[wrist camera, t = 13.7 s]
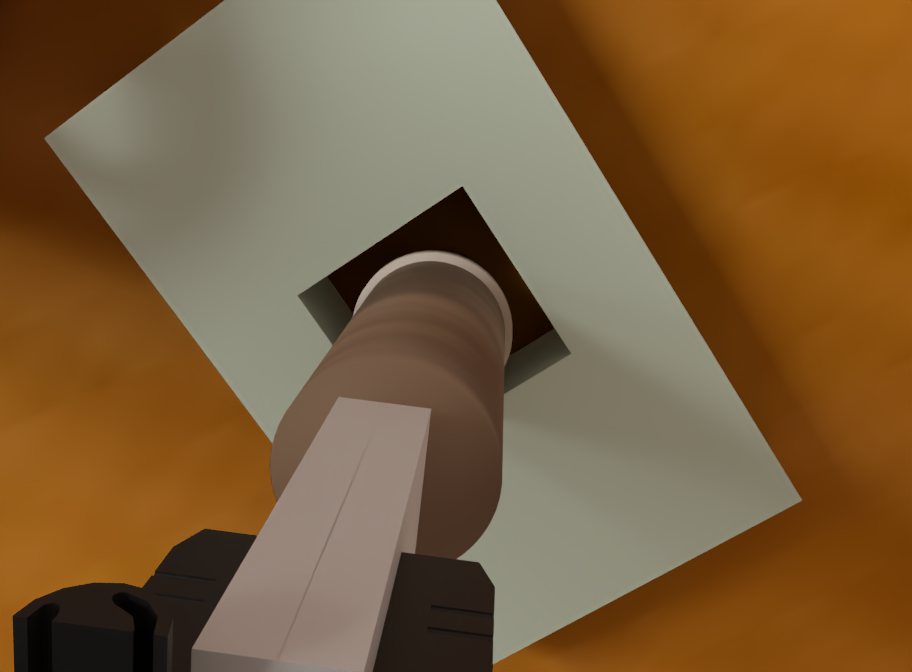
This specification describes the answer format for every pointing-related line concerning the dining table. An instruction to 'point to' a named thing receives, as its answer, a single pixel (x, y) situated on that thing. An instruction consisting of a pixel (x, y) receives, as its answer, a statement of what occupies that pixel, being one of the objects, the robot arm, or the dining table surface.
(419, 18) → the board
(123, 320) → the dining table surface
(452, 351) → the peg
